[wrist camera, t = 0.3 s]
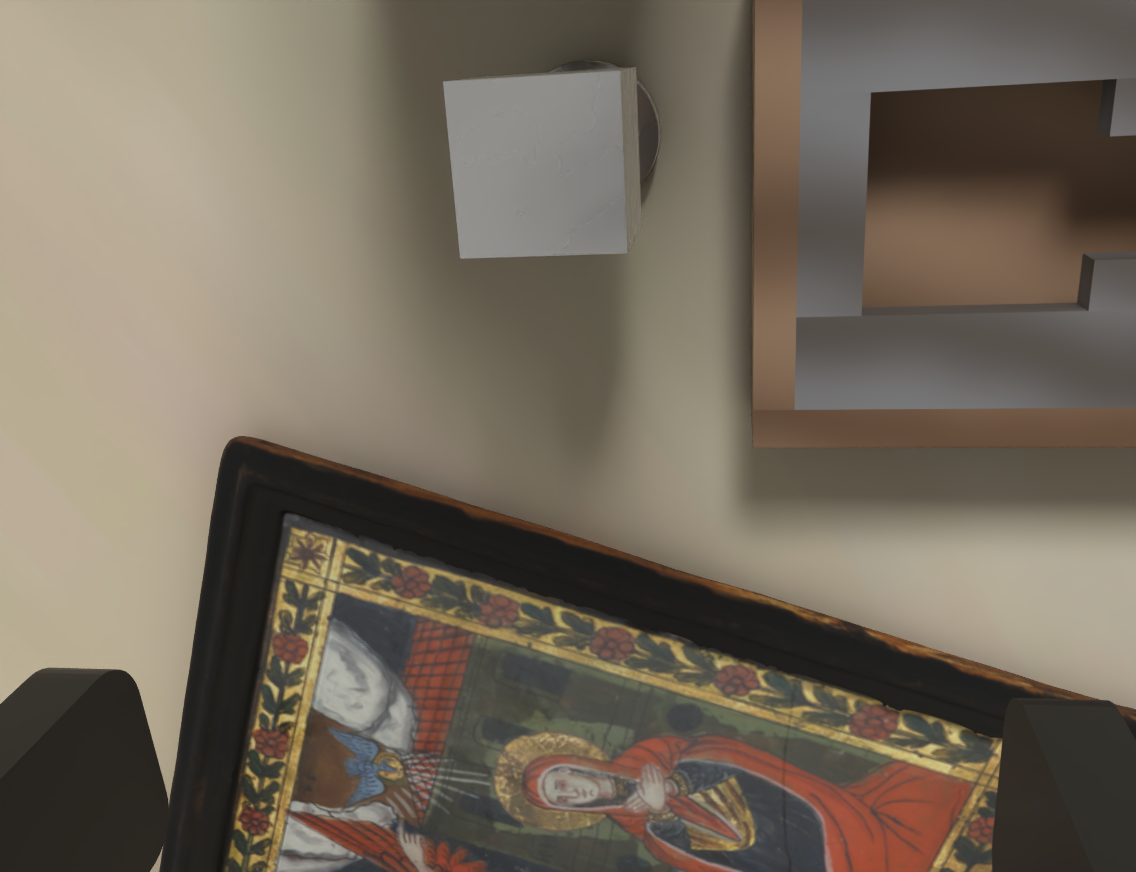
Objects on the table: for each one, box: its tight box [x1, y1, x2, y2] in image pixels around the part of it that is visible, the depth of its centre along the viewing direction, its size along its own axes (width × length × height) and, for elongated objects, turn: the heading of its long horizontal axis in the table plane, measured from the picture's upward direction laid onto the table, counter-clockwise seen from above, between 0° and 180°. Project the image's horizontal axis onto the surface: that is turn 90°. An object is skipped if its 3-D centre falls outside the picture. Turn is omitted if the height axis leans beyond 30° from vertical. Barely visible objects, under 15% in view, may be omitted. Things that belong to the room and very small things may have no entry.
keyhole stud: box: [443, 60, 660, 259], centre depth 28 cm, size 4×4×10 cm
